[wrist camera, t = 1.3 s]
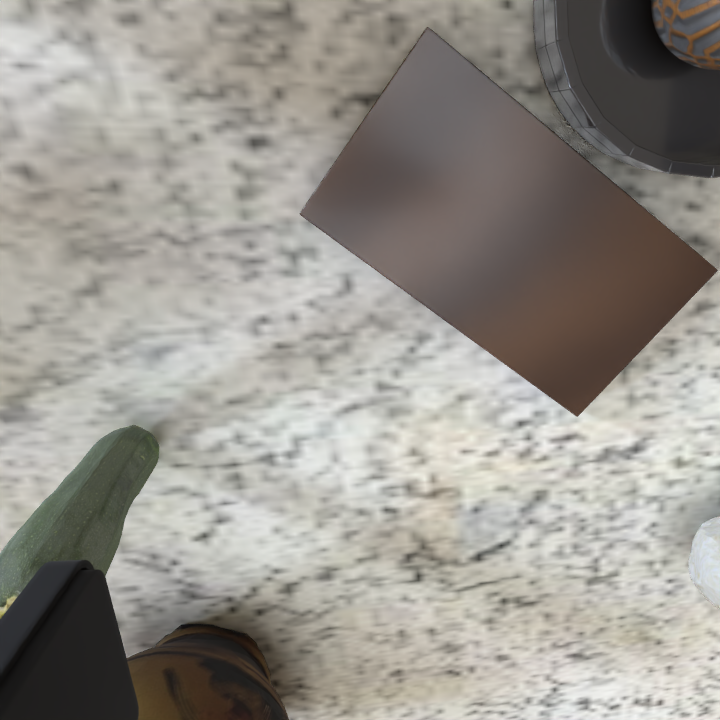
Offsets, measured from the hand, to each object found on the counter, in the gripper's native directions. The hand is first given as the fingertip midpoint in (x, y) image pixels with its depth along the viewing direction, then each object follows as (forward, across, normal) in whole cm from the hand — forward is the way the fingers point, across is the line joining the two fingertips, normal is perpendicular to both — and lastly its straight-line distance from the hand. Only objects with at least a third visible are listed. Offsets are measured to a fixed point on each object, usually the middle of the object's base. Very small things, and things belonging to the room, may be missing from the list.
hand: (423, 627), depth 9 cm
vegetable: (+28, +16, +10) cm, 34 cm away
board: (+28, -6, -1) cm, 29 cm away
